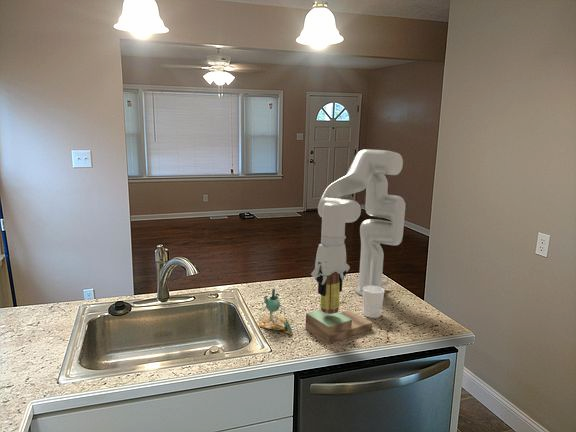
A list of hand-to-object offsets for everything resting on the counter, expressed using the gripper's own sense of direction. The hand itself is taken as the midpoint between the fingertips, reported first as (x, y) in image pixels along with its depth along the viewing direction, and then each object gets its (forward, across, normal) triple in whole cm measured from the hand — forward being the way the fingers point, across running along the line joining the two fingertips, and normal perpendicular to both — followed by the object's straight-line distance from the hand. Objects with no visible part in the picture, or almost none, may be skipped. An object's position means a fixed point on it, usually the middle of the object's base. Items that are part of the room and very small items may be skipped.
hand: (329, 292), depth 142 cm
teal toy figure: (+15, +13, -14) cm, 24 cm away
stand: (+15, -5, 0) cm, 15 cm away
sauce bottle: (+7, 0, 0) cm, 7 cm away
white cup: (+15, -24, -3) cm, 28 cm away
